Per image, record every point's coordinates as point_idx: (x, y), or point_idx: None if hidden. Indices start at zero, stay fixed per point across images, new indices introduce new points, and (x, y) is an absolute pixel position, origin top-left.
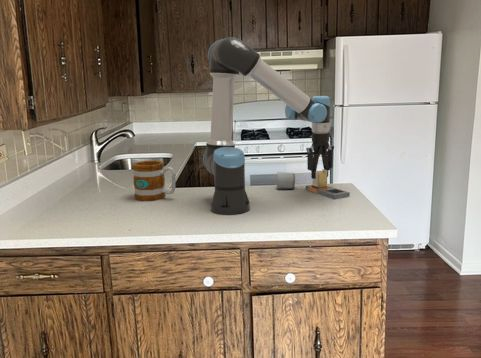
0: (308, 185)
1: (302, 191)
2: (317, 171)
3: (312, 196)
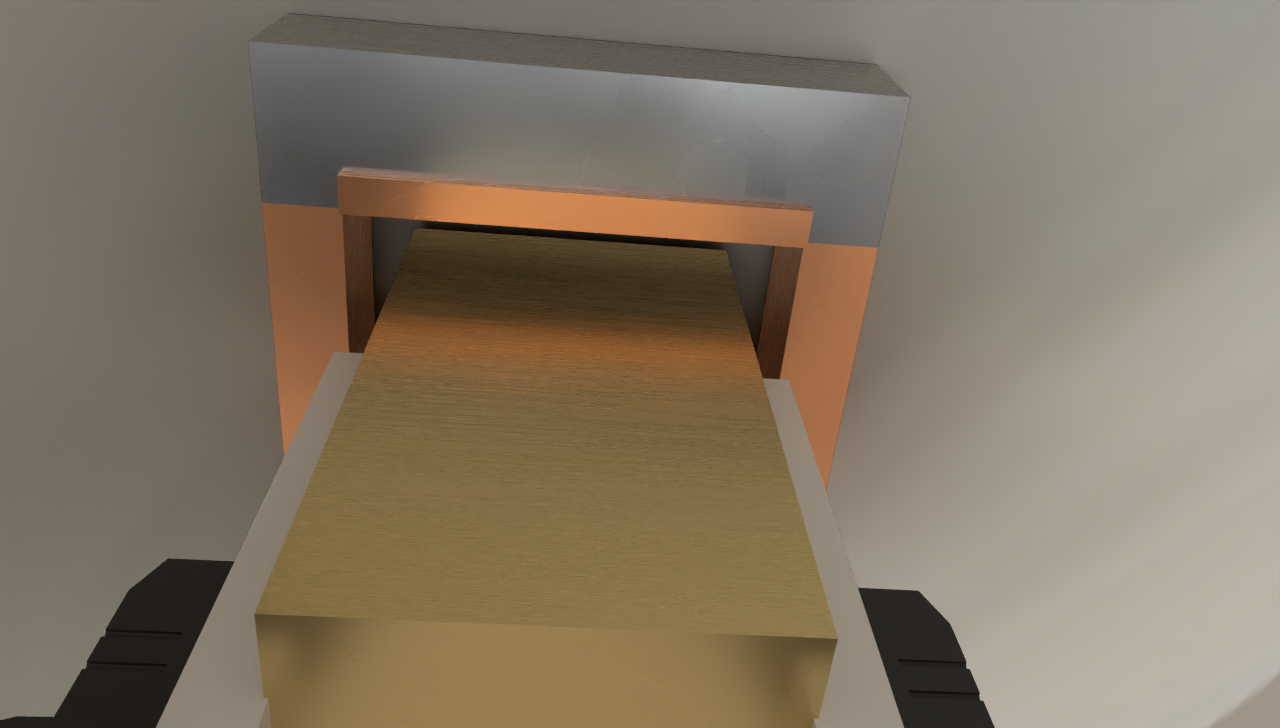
0: (361, 73)
1: (71, 131)
2: (543, 675)
3: (68, 634)
